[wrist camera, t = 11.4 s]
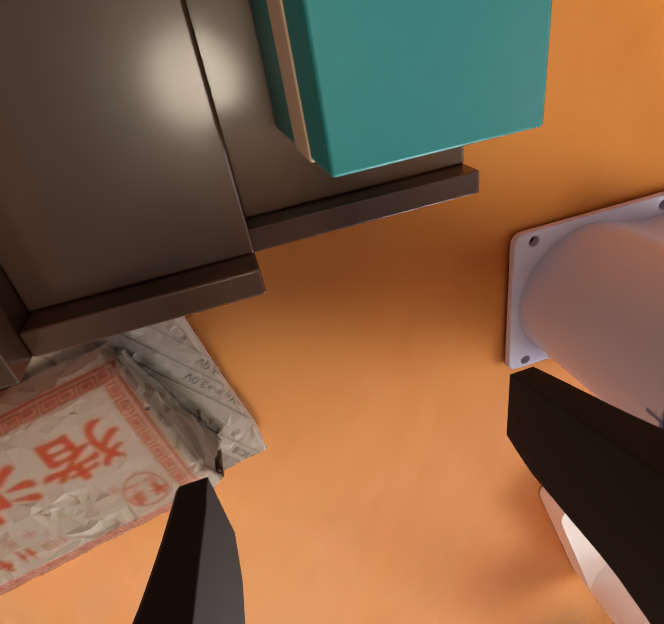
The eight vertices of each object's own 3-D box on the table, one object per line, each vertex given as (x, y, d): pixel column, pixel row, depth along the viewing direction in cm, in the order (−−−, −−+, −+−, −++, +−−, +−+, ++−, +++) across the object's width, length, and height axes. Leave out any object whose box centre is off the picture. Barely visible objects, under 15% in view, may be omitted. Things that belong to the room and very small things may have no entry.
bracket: (663, 537, 42) (735, 612, 37) (580, 585, 43) (640, 666, 37) (642, 411, 31) (740, 490, 26) (531, 477, 32) (605, 569, 26)
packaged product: (-121, 707, 19) (-433, 606, 13) (-64, 589, 23) (-285, 474, 17) (281, 505, 19) (139, 326, 14) (265, 425, 23) (151, 262, 18)
